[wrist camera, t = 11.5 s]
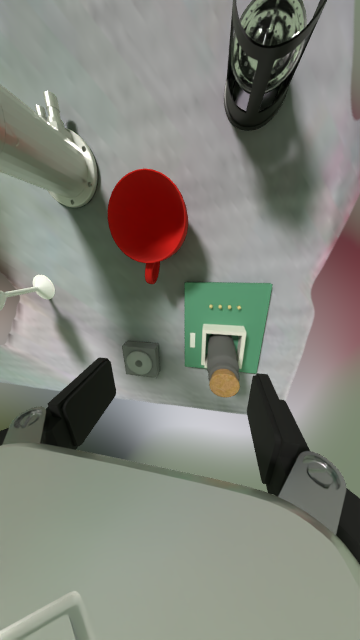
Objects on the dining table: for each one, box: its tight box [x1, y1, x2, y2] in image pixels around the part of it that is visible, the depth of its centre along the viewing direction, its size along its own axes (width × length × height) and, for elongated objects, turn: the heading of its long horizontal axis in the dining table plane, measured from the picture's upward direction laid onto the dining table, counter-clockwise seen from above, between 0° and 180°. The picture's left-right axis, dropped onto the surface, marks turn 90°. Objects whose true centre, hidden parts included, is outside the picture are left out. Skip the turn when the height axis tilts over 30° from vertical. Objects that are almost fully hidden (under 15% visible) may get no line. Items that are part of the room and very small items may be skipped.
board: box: [185, 282, 272, 373], centre depth 38 cm, size 22×18×6 cm
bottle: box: [207, 334, 240, 397], centre depth 34 cm, size 6×6×15 cm
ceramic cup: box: [108, 169, 188, 284], centre depth 32 cm, size 13×17×10 cm
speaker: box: [122, 341, 160, 378], centre depth 47 cm, size 9×9×4 cm
